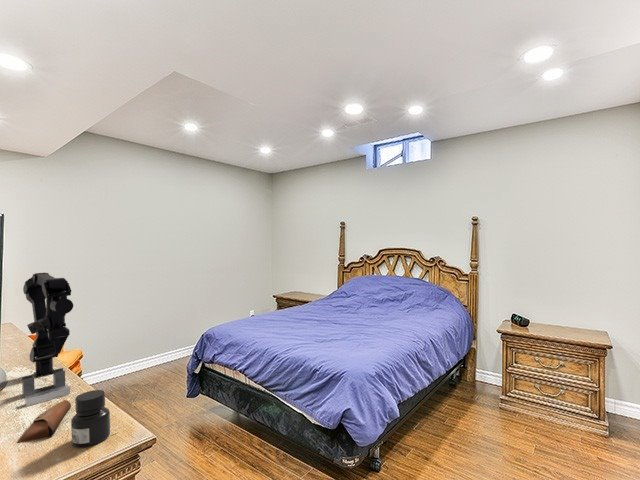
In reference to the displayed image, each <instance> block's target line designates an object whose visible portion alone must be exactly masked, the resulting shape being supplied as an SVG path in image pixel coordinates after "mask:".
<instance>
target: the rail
mask: <svg viewBox="0 0 640 480" xmlns="http://www.w3.org/2000/svg"><path fill="white" fill-rule="evenodd" d="M68 395H71V387H70V385H68V384H65V386H63V387H59V388H55V389H52V390H48V391H44V392H41V393H37V394H33V395H30V396H26V397H25V398H24V401H25V406H26V407H31V406H34V405H37V404H40V403H44V402H48V401H50V400H54V399H58V398H61V397H64V396H68Z"/></svg>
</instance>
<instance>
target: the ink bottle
mask: <svg viewBox="0 0 640 480" xmlns="http://www.w3.org/2000/svg"><path fill="white" fill-rule="evenodd" d="M74 402H75V405H74V406H75V412H76V413H75V414H74V416H72V417H71V420H70V421H71V424H70V425H71V426H70V427H71V429H70V430H71V444H72V446H73V447H76V448H86V447H91V446H93V445H97V444H99V443H101V442H103V441H104V440H106V439H107V438H108V437H109V436H110V433H111V416H110V415H111V414H110V413H111V412H110V411H111V410H110V409H109V407H106V406H105V405H106V391H104V390H103V389H93V390H89V391H85V392H83V393H80V394H78V395H76V396H75V400H74Z"/></svg>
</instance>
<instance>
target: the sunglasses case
mask: <svg viewBox="0 0 640 480" xmlns="http://www.w3.org/2000/svg"><path fill="white" fill-rule="evenodd" d="M71 408H72V403H71V402H70V401H69V400H67V399H64V400H62V401H59V402H58V403H55V404H54V405H52V406H50V407H49V408H48V409H46V410H45V411H44V412H42V413H40V414H39V415H38V416H36V417H35V419H34V420H33V422H32V423H31V424H30V425H29V426H28V428H27V429H26V430H25V431H24V433H23V434H21V436H20V438H18V440H17V443H18V444H22V443H25V442H32V441H38V440H42V439H47V438H52V437H53V436H54V435H55V433H56V431H57V429H58V427H59V426H60V425H61V423H62V421H63V420H64V418H65V416H67V413H68V412H69V411H70V409H71Z"/></svg>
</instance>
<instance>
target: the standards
mask: <svg viewBox="0 0 640 480" xmlns="http://www.w3.org/2000/svg"><path fill="white" fill-rule="evenodd" d="M52 380H53V384H51V385H47V386H43V387H39V388H35V387H36V386H35V377H34V374H30V375H25V376H22V377H21V381H22V382H21V383H22V384H21V387H22V397H23V398H24V399H25V397H26V396H30V395H33V394H37V393H41V392H44V391H48V390H52V389H55V388H59V387H63V386H66V371H65V370H64V368H63V367H61V368H56V369H54V370H53V373H52Z"/></svg>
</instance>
